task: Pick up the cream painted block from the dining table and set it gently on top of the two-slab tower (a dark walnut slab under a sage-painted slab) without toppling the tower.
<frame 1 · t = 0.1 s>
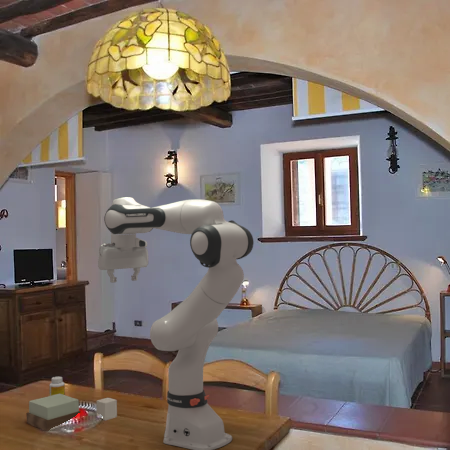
hand: (124, 281, 202), 48 cm above the table, fingers open, 8 cm apart
cream block: (106, 417, 201), on the table
tower base: (53, 423, 196), on the table
supplement bottle: (57, 405, 217), on the table
tower top: (54, 412, 196), point 3 cm above the table
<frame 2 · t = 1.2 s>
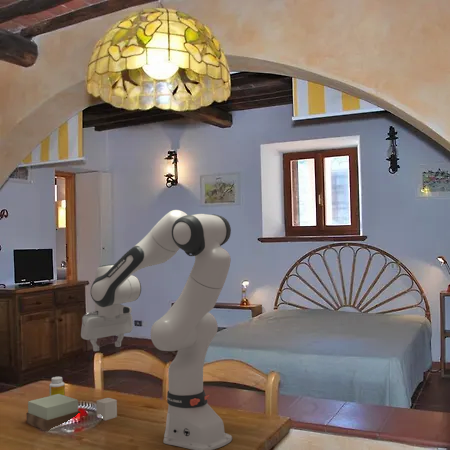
hand: (107, 348, 202), 24 cm above the table, fingers open, 8 cm apart
tower base: (53, 423, 196), on the table, touching tower top
tower top: (53, 412, 196), point 3 cm above the table, touching tower base
everything else where it was.
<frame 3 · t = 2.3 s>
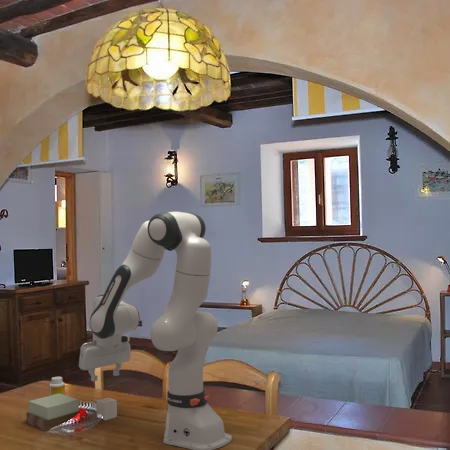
hand: (105, 378, 201), 14 cm above the table, fingers open, 8 cm apart
nothing on the table moved.
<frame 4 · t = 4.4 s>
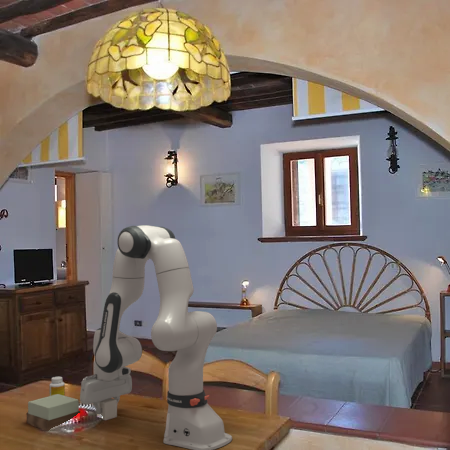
hand: (106, 411, 201), 2 cm above the table, fingers closed on cream block, 5 cm apart
cream block: (106, 417, 201), on the table, touching gripper
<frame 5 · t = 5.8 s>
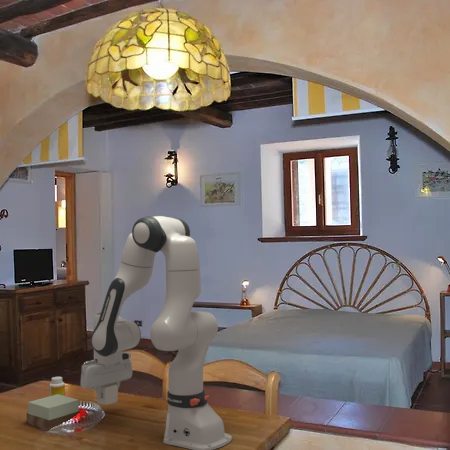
hand: (107, 396, 201), 7 cm above the table, fingers closed on cream block, 5 cm apart
cream block: (107, 402, 201), point 5 cm above the table, touching gripper
everything else where it was.
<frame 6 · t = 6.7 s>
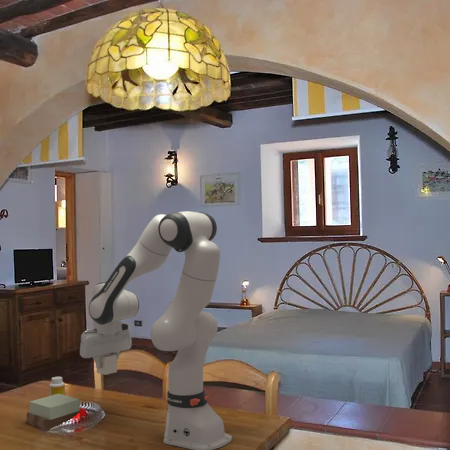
hand: (106, 366, 201), 18 cm above the table, fingers closed on cream block, 5 cm apart
cream block: (106, 372, 201), point 16 cm above the table, touching gripper
everything else where it was.
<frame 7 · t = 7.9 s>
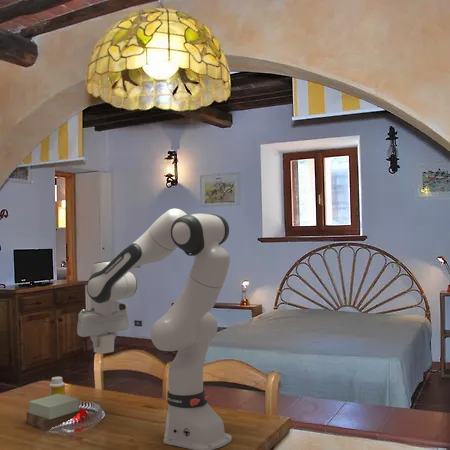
hand: (103, 345, 201), 25 cm above the table, fingers closed on cream block, 5 cm apart
cream block: (103, 351, 201), point 23 cm above the table, touching gripper
everything else where it was.
when the fingers open (10 cm above the table, at t = 14.0 s): cream block stays where it is, point 8 cm above the table.
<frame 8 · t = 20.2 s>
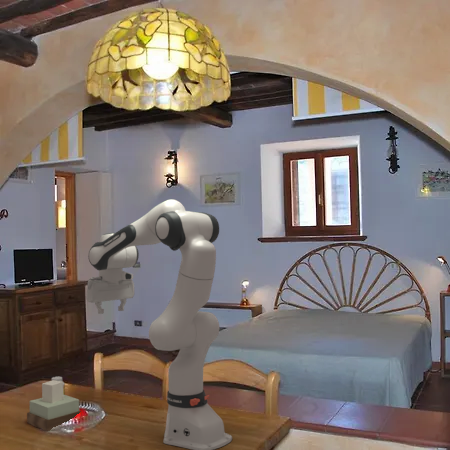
hand: (111, 312, 216), 35 cm above the table, fingers open, 8 cm apart
cream block: (52, 400, 197), point 8 cm above the table
everything else where it was.
at the end: cream block inside the target area on the tower top (0.5 cm from its centre), point 4.0 cm above the tower top's base; tower top 0.2 cm off-centre on the tower base, point 4.0 cm above the tower base's base; cream block tilted 1° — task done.
